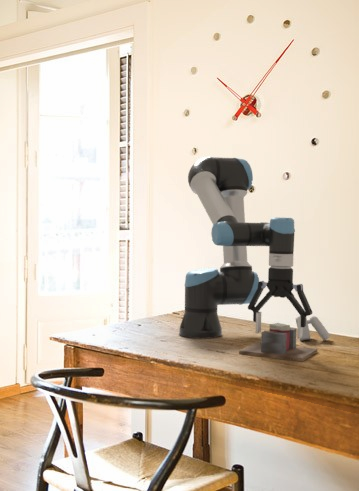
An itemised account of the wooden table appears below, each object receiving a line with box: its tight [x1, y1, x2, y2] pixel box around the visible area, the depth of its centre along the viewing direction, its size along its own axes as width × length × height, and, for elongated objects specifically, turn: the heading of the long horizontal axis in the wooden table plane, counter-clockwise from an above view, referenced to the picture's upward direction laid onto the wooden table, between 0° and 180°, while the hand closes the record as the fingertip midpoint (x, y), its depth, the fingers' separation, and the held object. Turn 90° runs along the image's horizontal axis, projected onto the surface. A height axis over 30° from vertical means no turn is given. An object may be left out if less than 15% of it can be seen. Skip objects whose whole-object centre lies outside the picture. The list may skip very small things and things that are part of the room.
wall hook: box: [295, 314, 332, 342], centre depth 221 cm, size 8×10×10 cm
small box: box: [268, 322, 291, 350], centre depth 199 cm, size 5×4×8 cm
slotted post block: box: [238, 327, 318, 363], centre depth 199 cm, size 20×16×7 cm
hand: (278, 335), depth 199 cm, fingers open, 13 cm apart
